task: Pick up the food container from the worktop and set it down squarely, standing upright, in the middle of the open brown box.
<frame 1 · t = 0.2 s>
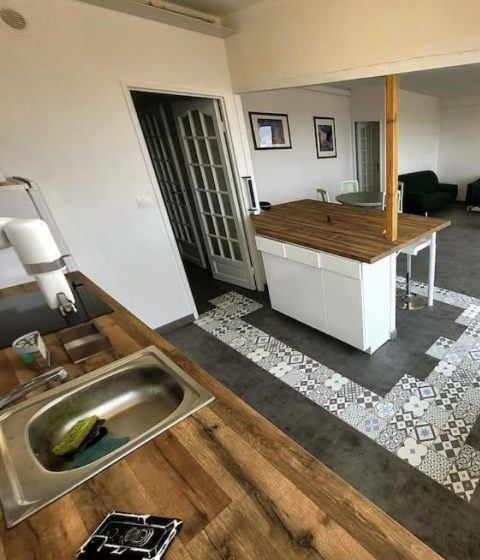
hand: (71, 319, 90), 25 cm above the countertop, tool pointing down, fingers open, 9 cm apart
open brown box: (88, 346, 118), on the countertop
food container: (37, 364, 109), on the countertop
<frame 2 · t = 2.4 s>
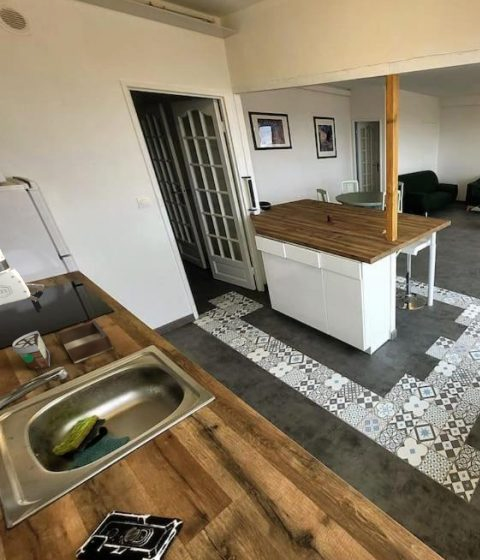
hand: (16, 316, 99), 21 cm above the countertop, tool pointing down, fingers open, 9 cm apart
nothing on the countertop moved.
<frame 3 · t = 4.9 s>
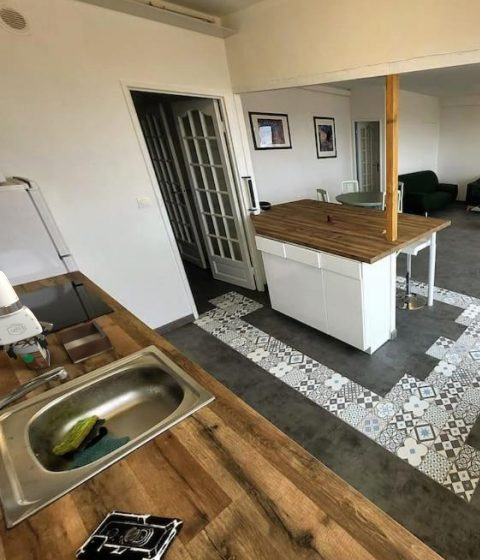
hand: (30, 352, 107), 5 cm above the countertop, tool pointing down, fingers closed on food container, 6 cm apart
food container: (37, 364, 109), on the countertop, touching gripper
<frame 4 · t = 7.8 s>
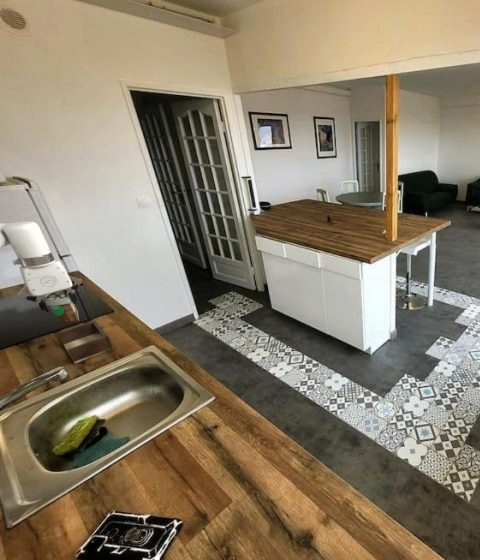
hand: (60, 306, 109), 19 cm above the countertop, tool pointing down, fingers closed on food container, 6 cm apart
food container: (66, 319, 111), point 13 cm above the countertop, touching gripper
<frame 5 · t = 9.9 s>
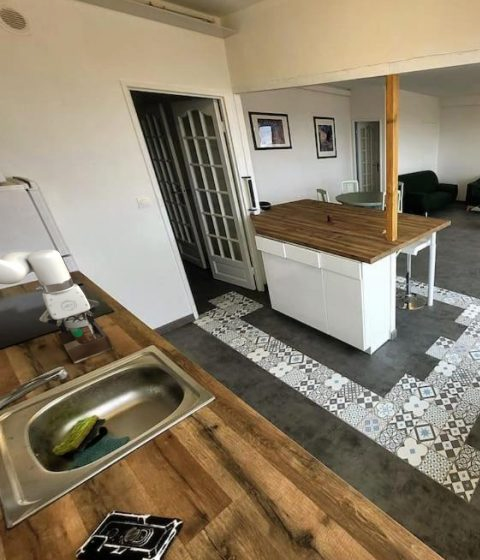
hand: (79, 328, 114), 9 cm above the countertop, tool pointing down, fingers closed on food container, 6 cm apart
food container: (84, 339, 117), point 3 cm above the countertop, touching gripper
when the fingers open (6 cm above the countertop, at t = 11.2 s): food container stays where it is, resting on open brown box.
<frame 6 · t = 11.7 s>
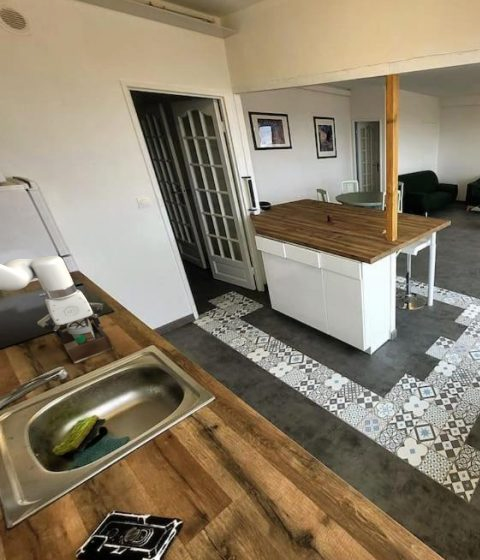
hand: (80, 331, 115), 7 cm above the countertop, tool pointing down, fingers open, 9 cm apart
food container: (87, 345, 118), point 1 cm above the countertop, touching open brown box
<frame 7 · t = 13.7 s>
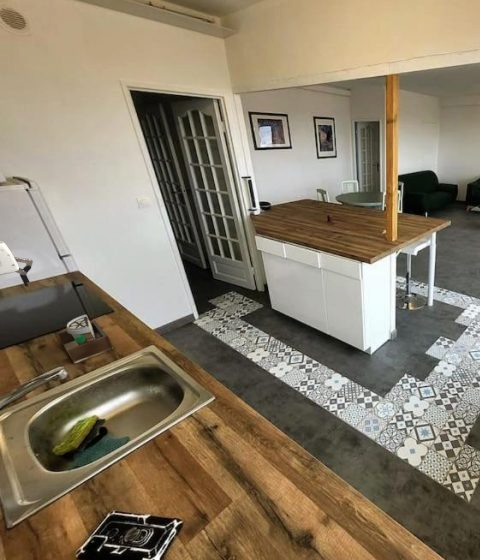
hand: (5, 289, 104), 26 cm above the countertop, tool pointing down, fingers open, 9 cm apart
nothing on the countertop moved.
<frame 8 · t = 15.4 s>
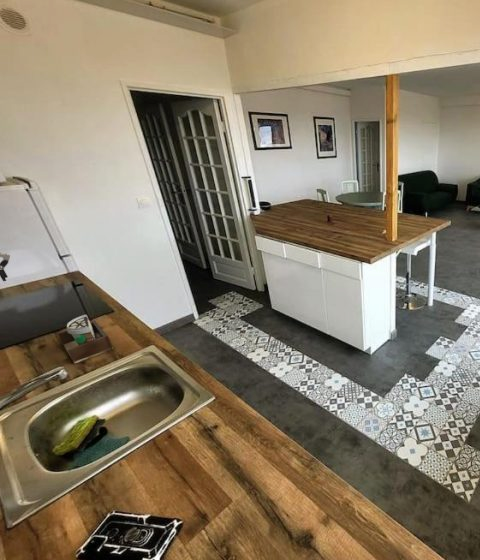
nothing on the countertop moved.
at the end: food container 0.2 cm off-centre on the open brown box, point 0.6 cm above the open brown box's base; food container tilted 0°; the gripper is holding nothing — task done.
